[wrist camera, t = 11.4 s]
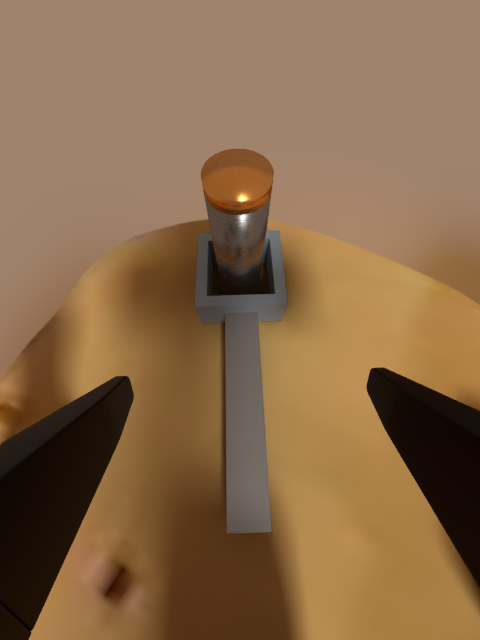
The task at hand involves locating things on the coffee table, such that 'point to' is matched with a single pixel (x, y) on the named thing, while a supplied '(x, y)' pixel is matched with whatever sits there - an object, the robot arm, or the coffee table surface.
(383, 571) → the coffee table surface
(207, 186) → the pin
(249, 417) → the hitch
